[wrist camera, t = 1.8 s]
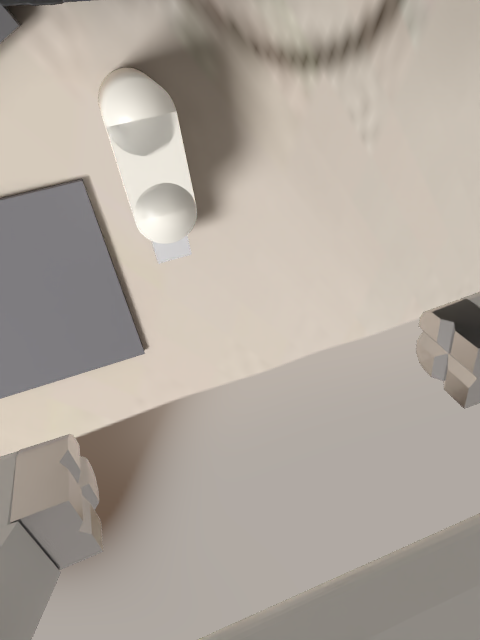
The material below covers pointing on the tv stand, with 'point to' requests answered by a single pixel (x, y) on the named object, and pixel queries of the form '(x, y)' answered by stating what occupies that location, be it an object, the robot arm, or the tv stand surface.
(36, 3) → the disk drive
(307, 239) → the tv stand surface
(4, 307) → the mat
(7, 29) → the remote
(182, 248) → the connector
